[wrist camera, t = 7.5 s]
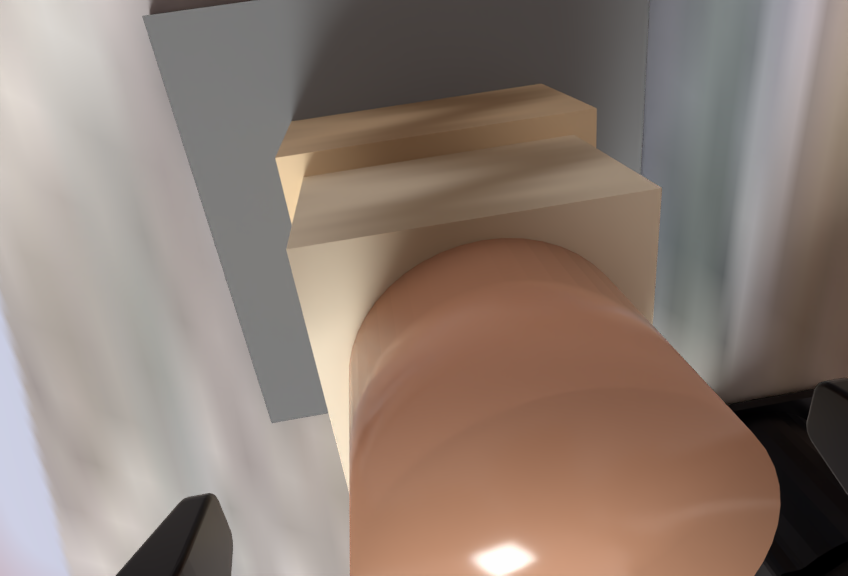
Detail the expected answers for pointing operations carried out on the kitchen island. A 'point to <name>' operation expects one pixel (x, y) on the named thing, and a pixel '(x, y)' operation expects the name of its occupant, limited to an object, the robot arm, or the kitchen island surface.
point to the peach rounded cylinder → (541, 431)
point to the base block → (428, 131)
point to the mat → (356, 91)
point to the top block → (458, 232)
